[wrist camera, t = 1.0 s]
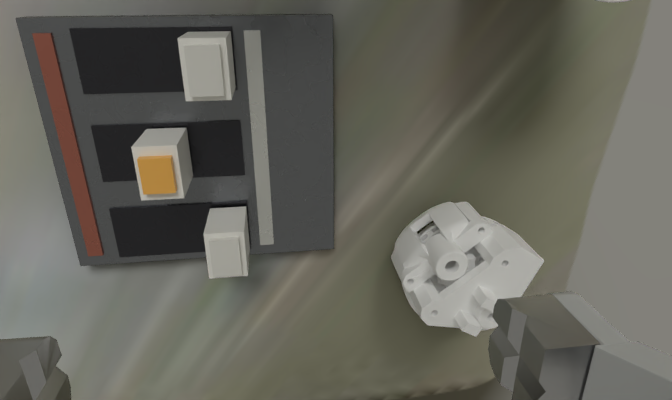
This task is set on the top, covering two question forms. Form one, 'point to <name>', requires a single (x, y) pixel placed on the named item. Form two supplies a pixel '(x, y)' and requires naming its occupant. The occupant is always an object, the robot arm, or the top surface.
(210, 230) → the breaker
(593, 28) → the top surface
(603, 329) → the robot arm
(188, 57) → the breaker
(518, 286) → the mechanical part
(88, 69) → the panel
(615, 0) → the candle holder
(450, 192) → the top surface
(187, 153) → the breaker mid
